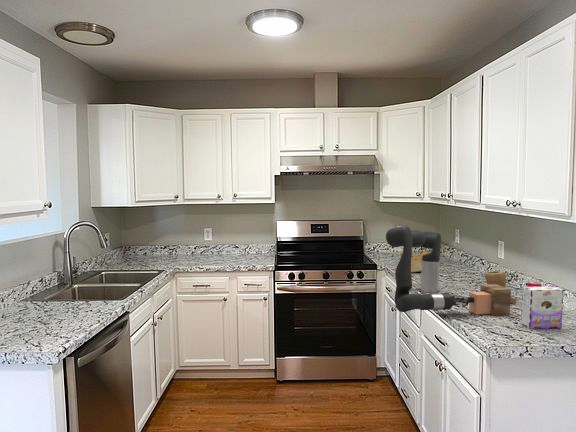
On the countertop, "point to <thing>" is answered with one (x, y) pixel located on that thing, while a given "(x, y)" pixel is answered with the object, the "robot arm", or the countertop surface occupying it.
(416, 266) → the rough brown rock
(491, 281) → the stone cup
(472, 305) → the block
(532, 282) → the beverage can
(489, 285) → the tunnel
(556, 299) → the candy box
